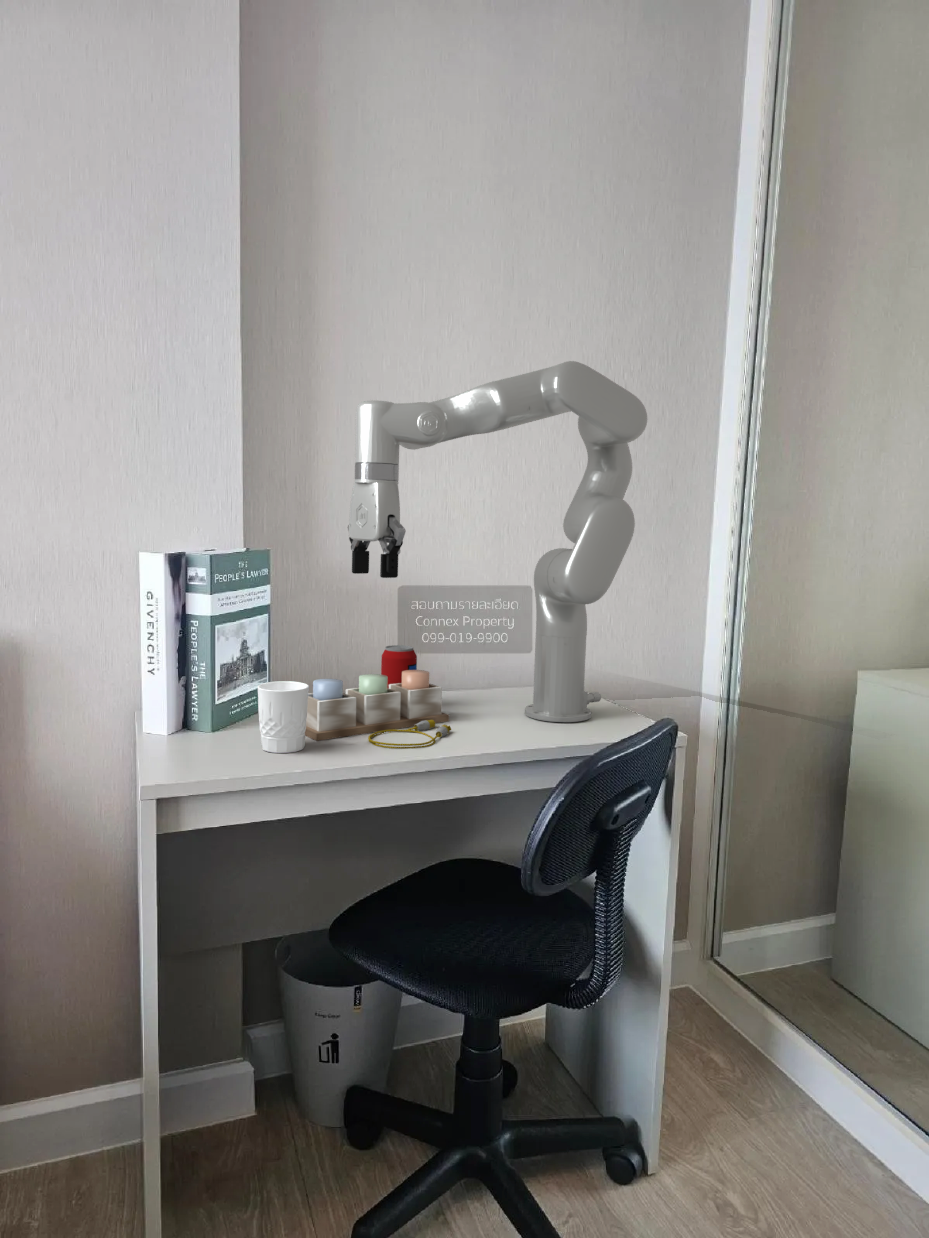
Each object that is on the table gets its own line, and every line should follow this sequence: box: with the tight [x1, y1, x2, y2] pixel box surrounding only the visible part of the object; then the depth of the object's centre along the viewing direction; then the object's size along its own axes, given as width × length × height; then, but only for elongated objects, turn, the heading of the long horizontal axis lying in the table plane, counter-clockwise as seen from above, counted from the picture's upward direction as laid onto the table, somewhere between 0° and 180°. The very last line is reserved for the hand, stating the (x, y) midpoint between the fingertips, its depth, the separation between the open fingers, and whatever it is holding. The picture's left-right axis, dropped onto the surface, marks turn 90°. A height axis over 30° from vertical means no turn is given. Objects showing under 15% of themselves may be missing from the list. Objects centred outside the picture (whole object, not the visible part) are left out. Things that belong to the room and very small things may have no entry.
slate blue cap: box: [312, 678, 344, 701], centre depth 153 cm, size 5×5×5 cm
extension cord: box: [367, 720, 452, 750], centre depth 151 cm, size 12×16×2 cm
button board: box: [305, 683, 450, 742], centre depth 158 cm, size 27×9×6 cm, turn 127°
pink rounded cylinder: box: [402, 669, 430, 690], centre depth 164 cm, size 5×5×5 cm
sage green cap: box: [358, 673, 388, 695], centre depth 158 cm, size 5×5×5 cm
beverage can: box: [380, 644, 418, 688], centre depth 171 cm, size 7×7×12 cm
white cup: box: [257, 680, 310, 754], centre depth 142 cm, size 8×8×10 cm
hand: (374, 575), depth 156 cm, fingers open, 9 cm apart
